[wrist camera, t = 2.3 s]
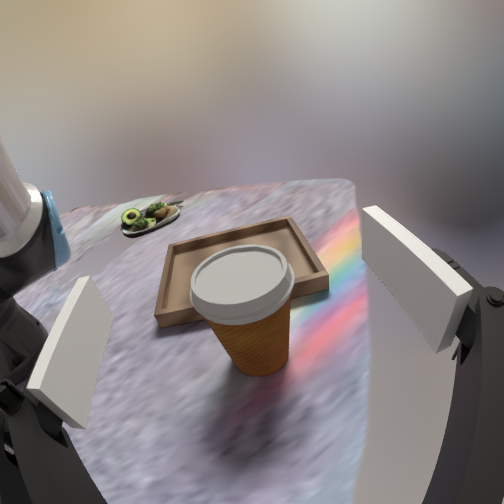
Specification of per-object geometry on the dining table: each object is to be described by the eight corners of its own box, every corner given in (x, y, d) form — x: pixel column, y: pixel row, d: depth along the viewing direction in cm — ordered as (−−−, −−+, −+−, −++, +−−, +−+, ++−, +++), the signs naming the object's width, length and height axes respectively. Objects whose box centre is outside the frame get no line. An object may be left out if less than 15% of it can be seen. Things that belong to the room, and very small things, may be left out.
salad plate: (177, 200, 85) (173, 186, 83) (196, 214, 71) (191, 198, 69) (120, 224, 78) (115, 210, 76) (127, 244, 64) (120, 228, 62)
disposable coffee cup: (318, 340, 31) (312, 252, 24) (270, 404, 25) (246, 325, 19) (253, 315, 36) (232, 235, 30) (204, 365, 31) (164, 286, 24)
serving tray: (160, 327, 37) (154, 315, 36) (173, 255, 54) (168, 244, 53) (329, 288, 38) (328, 274, 36) (292, 226, 55) (290, 215, 54)
